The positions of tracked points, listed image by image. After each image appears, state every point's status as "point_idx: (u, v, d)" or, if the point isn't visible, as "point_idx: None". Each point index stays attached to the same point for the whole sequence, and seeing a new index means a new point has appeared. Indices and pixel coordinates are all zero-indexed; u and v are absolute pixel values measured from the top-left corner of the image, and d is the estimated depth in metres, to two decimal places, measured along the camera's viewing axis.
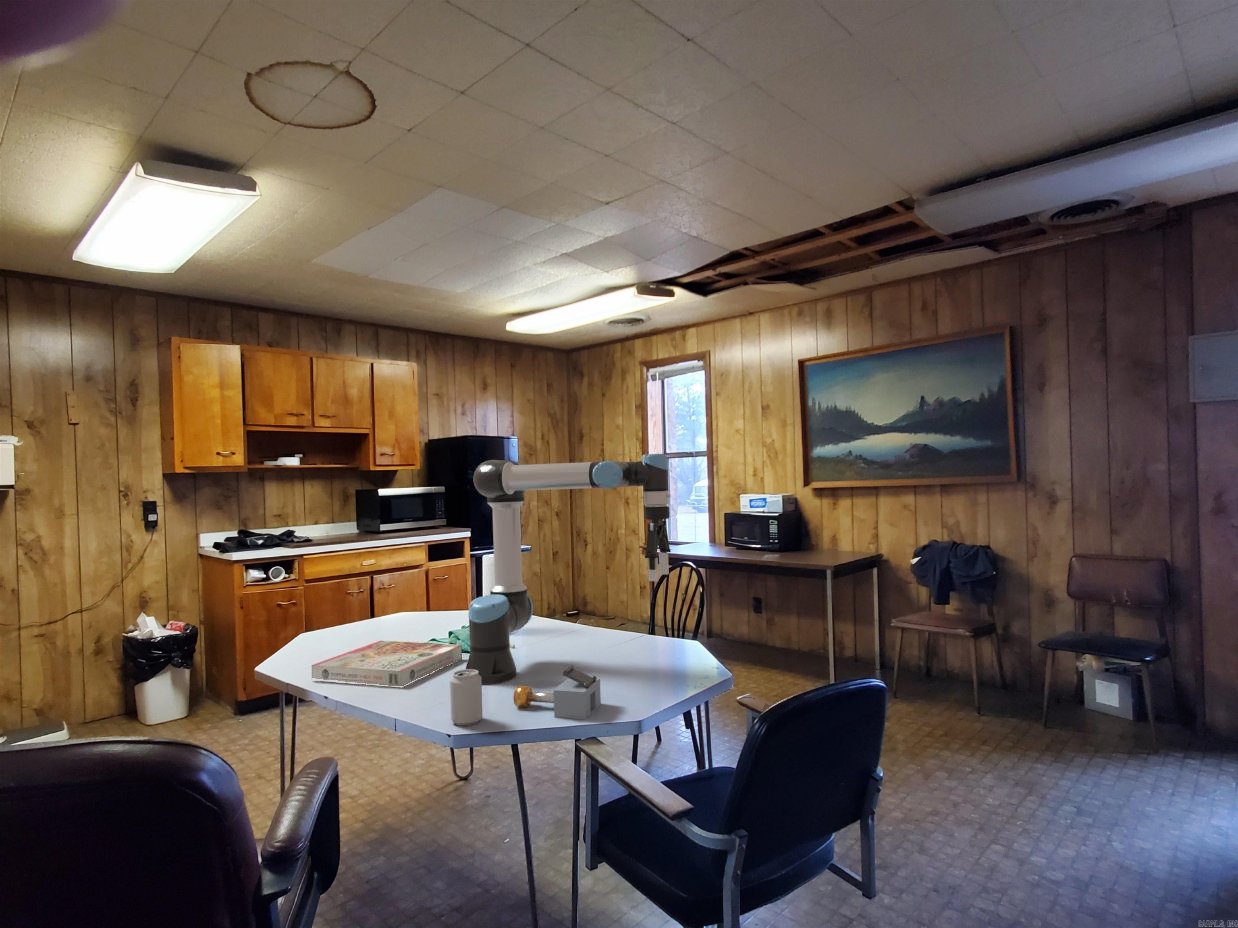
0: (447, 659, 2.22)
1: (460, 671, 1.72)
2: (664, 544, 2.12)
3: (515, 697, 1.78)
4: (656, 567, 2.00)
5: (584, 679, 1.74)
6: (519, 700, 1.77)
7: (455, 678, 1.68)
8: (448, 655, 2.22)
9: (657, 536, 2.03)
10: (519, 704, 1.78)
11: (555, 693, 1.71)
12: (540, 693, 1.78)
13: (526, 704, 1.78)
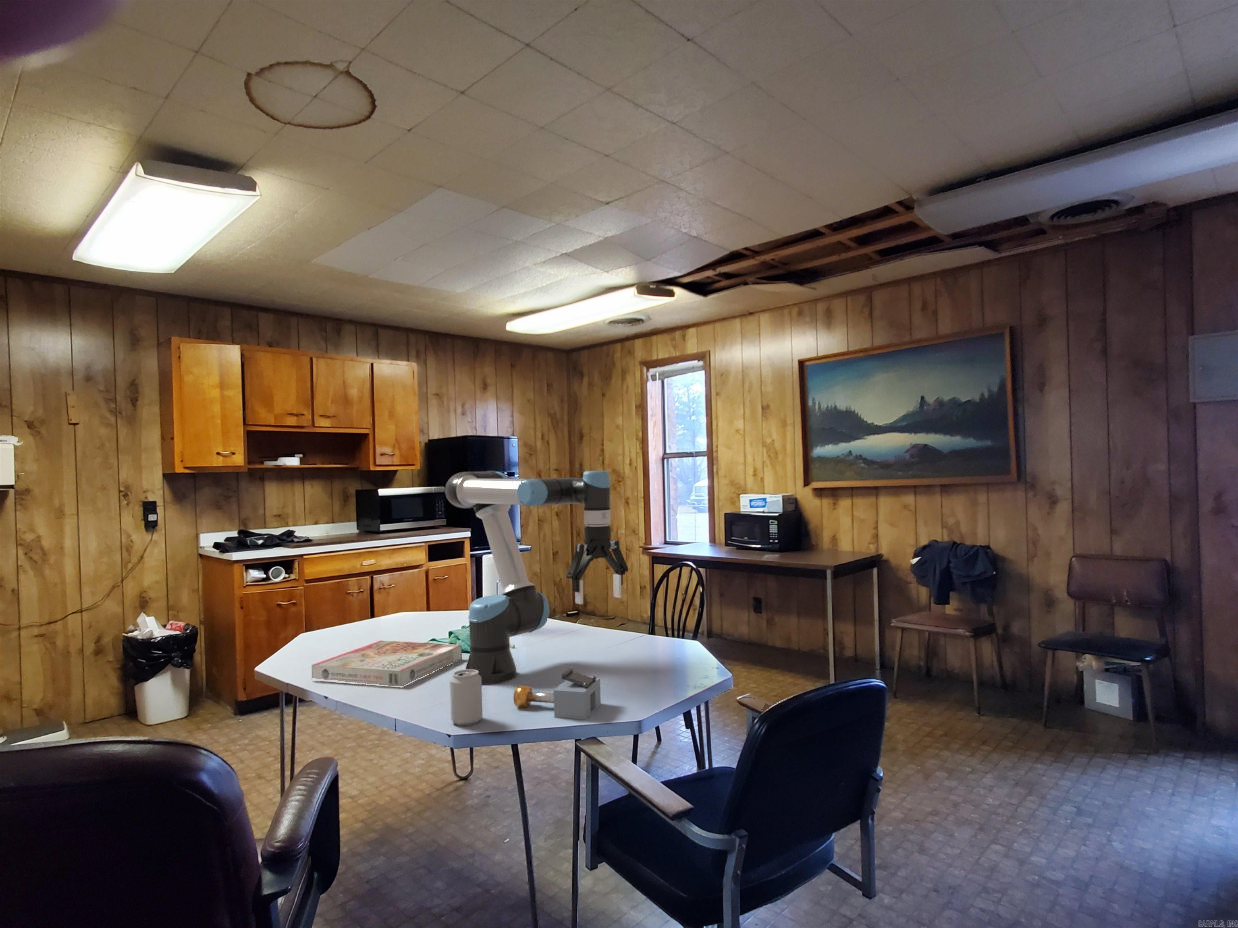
0: (447, 659, 2.22)
1: (460, 671, 1.72)
2: (614, 566, 2.00)
3: (515, 697, 1.78)
4: (580, 590, 1.92)
5: (583, 680, 1.74)
6: (519, 700, 1.77)
7: (455, 678, 1.68)
8: (448, 655, 2.22)
9: (588, 557, 1.94)
10: (519, 704, 1.78)
11: (555, 693, 1.71)
12: (540, 693, 1.78)
13: (526, 704, 1.78)
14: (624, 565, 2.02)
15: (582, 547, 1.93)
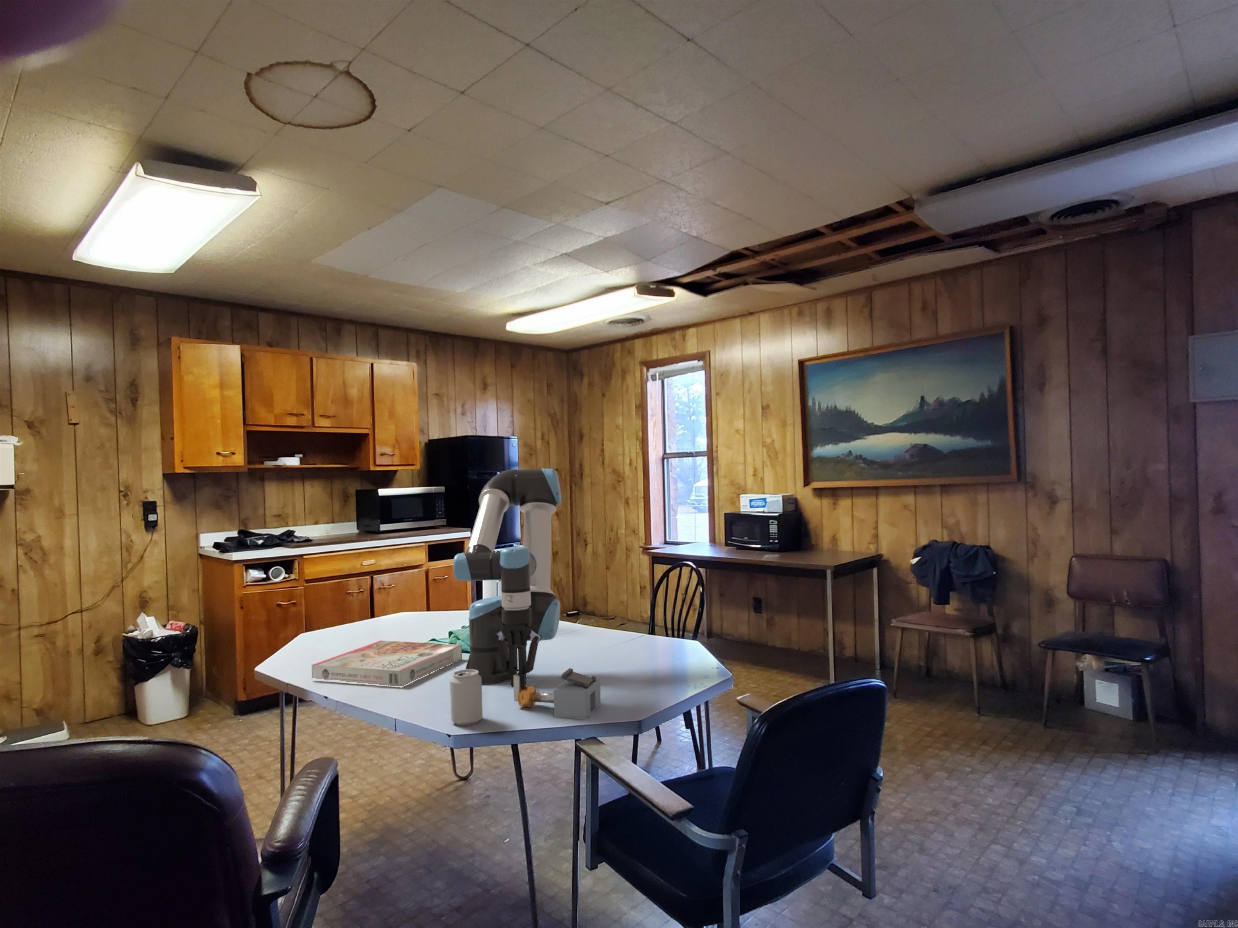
0: (447, 659, 2.22)
1: (460, 671, 1.72)
2: None
3: (519, 697, 1.77)
4: (514, 685, 1.79)
5: (583, 680, 1.74)
6: (523, 700, 1.77)
7: (455, 678, 1.68)
8: (448, 655, 2.23)
9: None
10: (523, 704, 1.78)
11: (555, 693, 1.71)
12: (545, 694, 1.77)
13: (530, 704, 1.78)
14: (527, 664, 1.78)
15: (495, 638, 1.81)
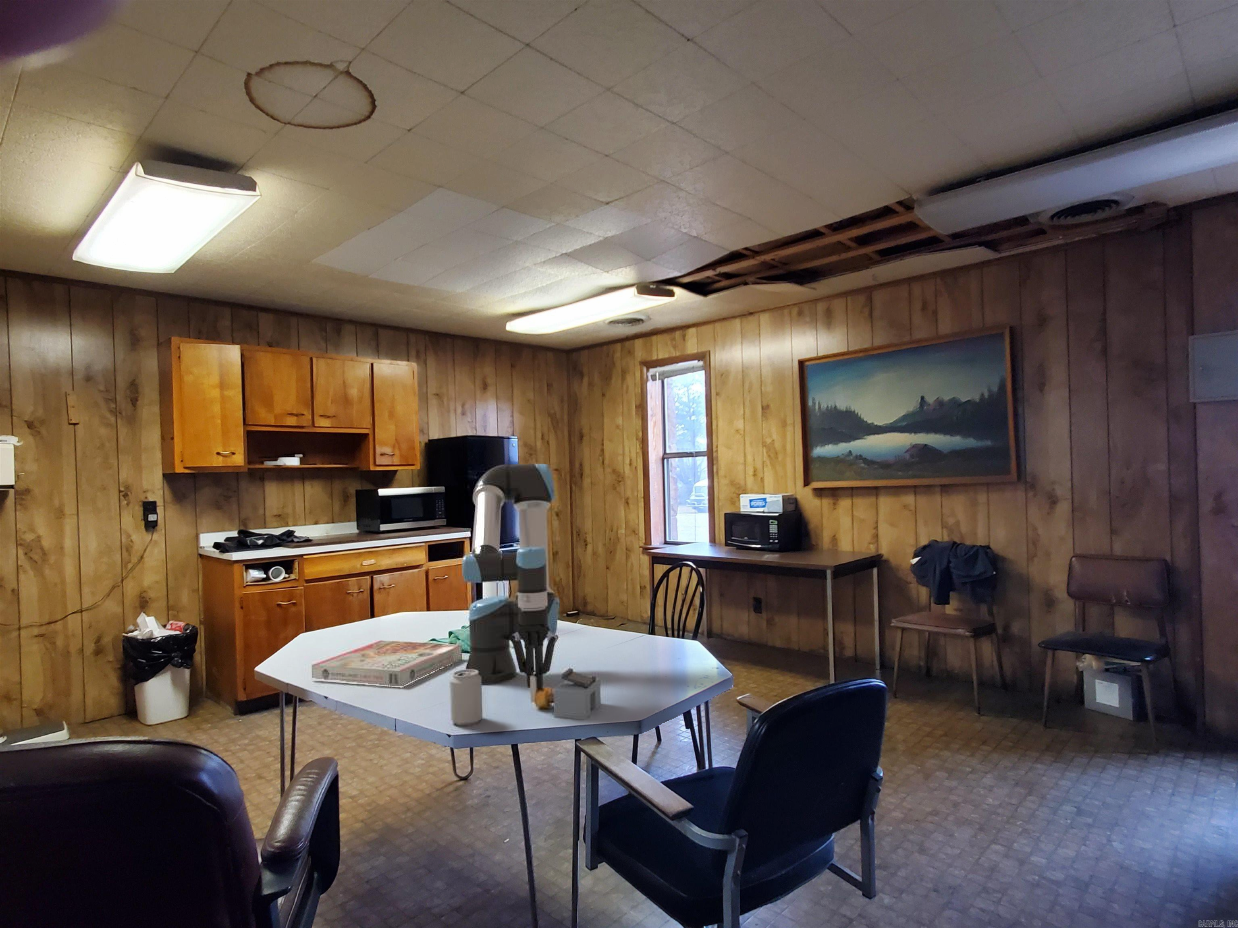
0: (447, 659, 2.22)
1: (460, 671, 1.72)
2: None
3: (536, 698, 1.76)
4: None
5: (583, 680, 1.74)
6: (540, 701, 1.76)
7: (455, 678, 1.68)
8: (448, 655, 2.23)
9: None
10: (540, 705, 1.76)
11: (555, 693, 1.71)
12: None
13: (547, 705, 1.76)
14: (544, 665, 1.77)
15: (511, 638, 1.79)
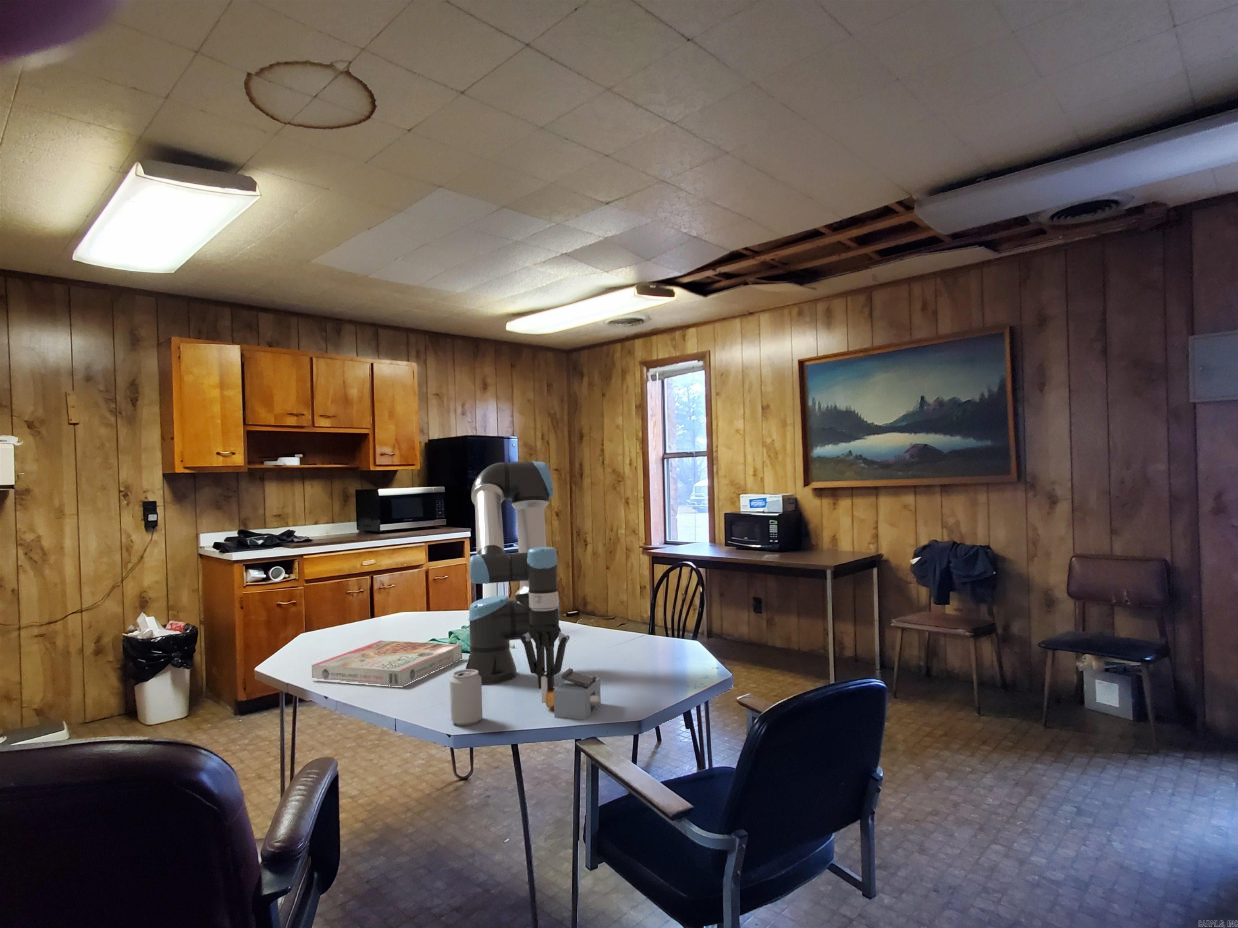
0: (447, 659, 2.22)
1: (460, 671, 1.72)
2: None
3: (547, 699, 1.75)
4: None
5: (583, 680, 1.74)
6: (551, 702, 1.75)
7: (455, 678, 1.68)
8: (448, 655, 2.23)
9: None
10: (551, 706, 1.75)
11: (555, 693, 1.71)
12: None
13: None
14: (555, 666, 1.76)
15: (522, 639, 1.78)
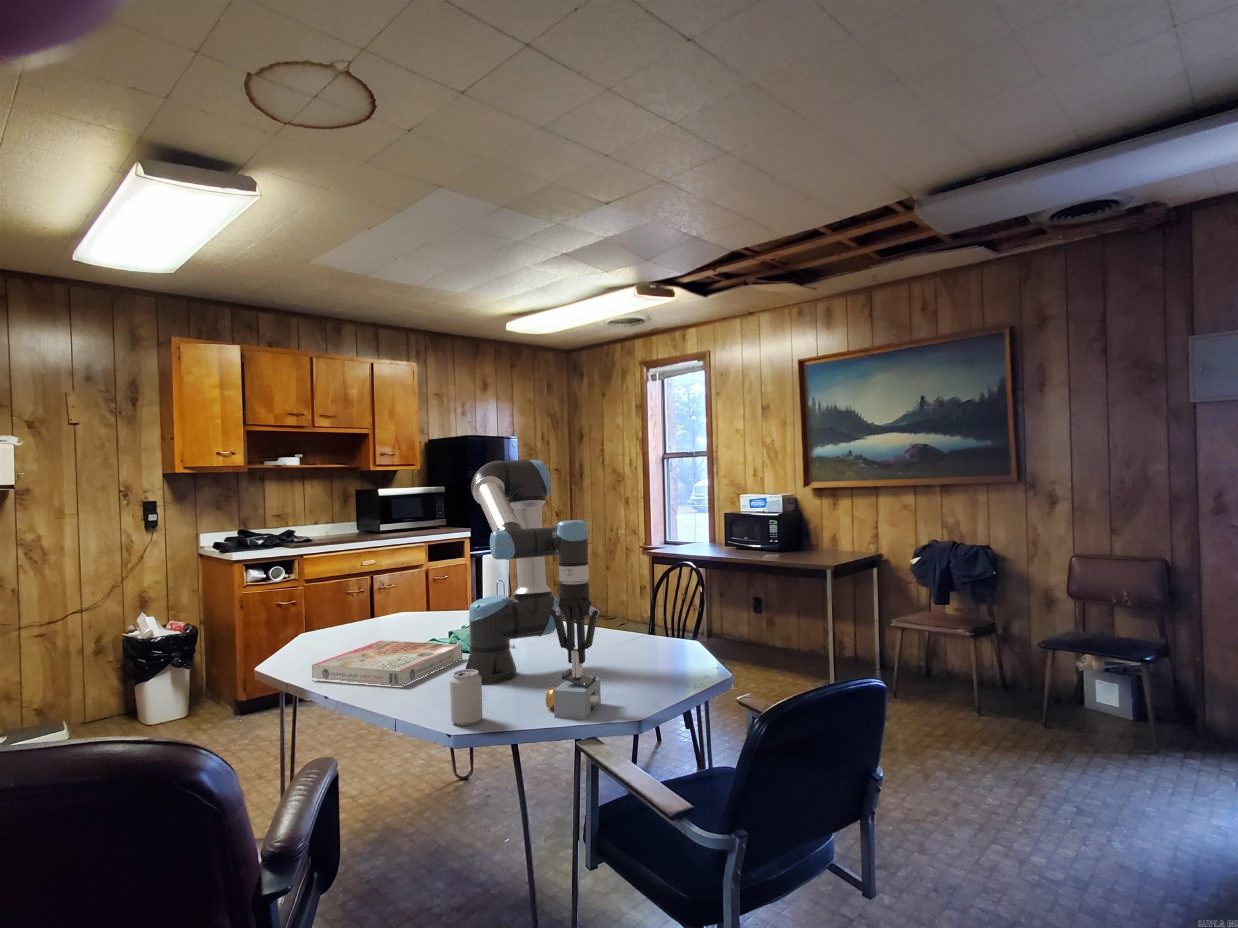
0: (447, 659, 2.22)
1: (460, 671, 1.72)
2: None
3: (547, 699, 1.75)
4: (572, 661, 1.75)
5: (583, 680, 1.74)
6: (551, 702, 1.75)
7: (455, 678, 1.68)
8: (448, 655, 2.23)
9: None
10: (551, 706, 1.75)
11: (555, 693, 1.71)
12: None
13: None
14: (587, 640, 1.74)
15: (552, 613, 1.76)
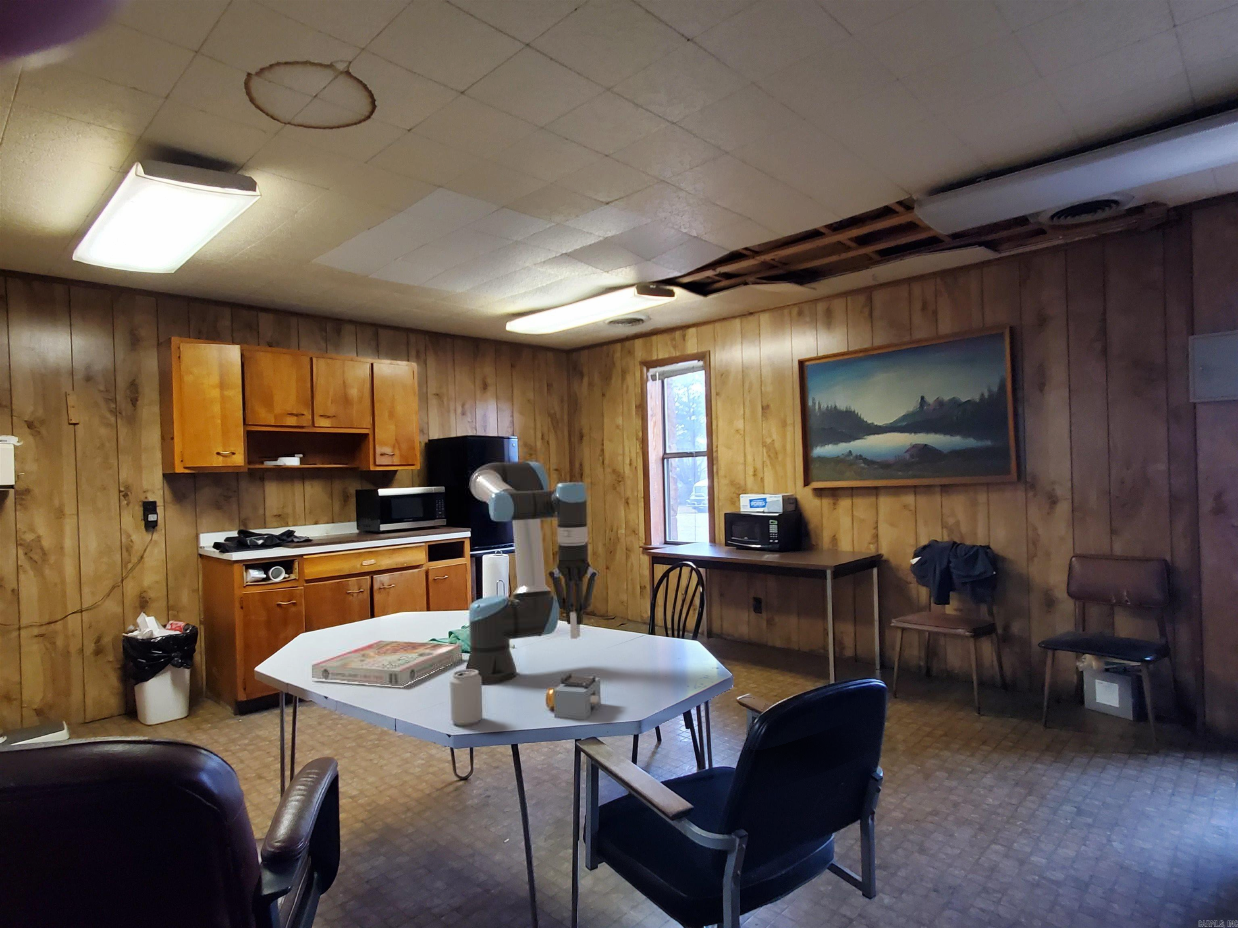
0: (447, 659, 2.22)
1: (460, 671, 1.72)
2: None
3: (547, 699, 1.75)
4: None
5: (583, 681, 1.74)
6: (551, 702, 1.75)
7: (455, 678, 1.68)
8: (448, 655, 2.23)
9: None
10: (551, 706, 1.75)
11: (555, 693, 1.71)
12: None
13: None
14: (584, 601, 1.74)
15: (551, 574, 1.77)
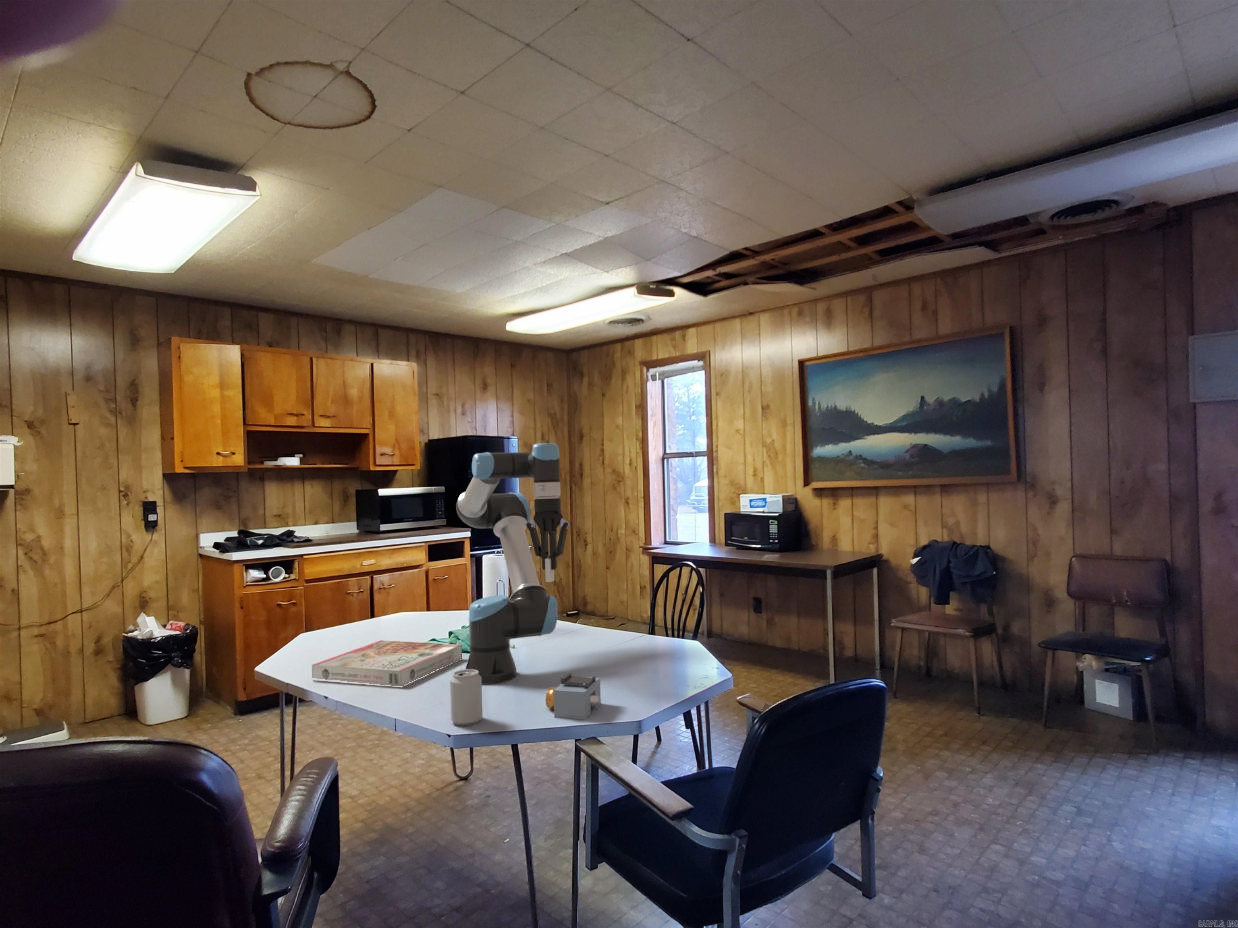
0: (447, 659, 2.22)
1: (460, 671, 1.72)
2: None
3: (547, 699, 1.75)
4: None
5: (583, 681, 1.74)
6: (551, 702, 1.75)
7: (455, 678, 1.68)
8: (448, 655, 2.23)
9: None
10: (551, 706, 1.75)
11: (555, 693, 1.71)
12: None
13: None
14: (558, 548, 1.95)
15: (528, 525, 1.98)
